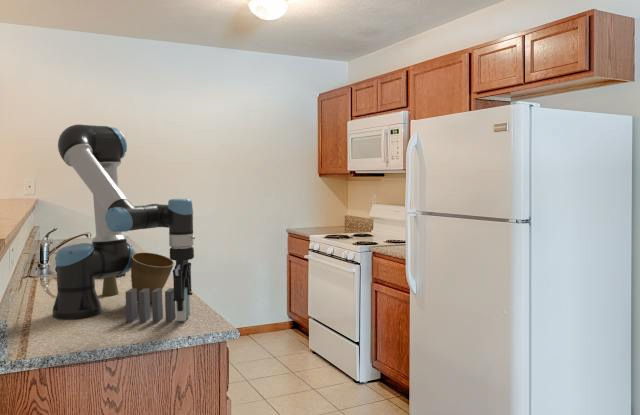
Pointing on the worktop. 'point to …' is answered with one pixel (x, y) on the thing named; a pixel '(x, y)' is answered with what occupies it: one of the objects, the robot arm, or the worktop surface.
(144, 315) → the domino
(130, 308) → the domino
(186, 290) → the domino
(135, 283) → the plant pot
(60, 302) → the robot arm
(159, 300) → the domino
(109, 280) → the cork
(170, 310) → the domino
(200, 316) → the worktop surface
